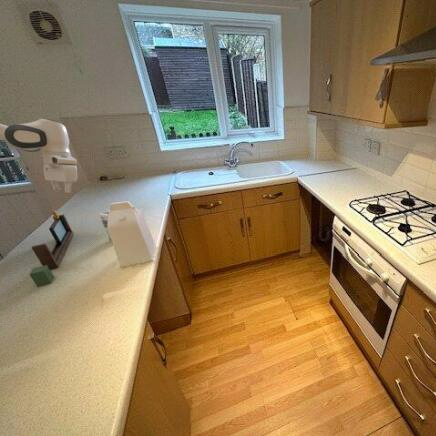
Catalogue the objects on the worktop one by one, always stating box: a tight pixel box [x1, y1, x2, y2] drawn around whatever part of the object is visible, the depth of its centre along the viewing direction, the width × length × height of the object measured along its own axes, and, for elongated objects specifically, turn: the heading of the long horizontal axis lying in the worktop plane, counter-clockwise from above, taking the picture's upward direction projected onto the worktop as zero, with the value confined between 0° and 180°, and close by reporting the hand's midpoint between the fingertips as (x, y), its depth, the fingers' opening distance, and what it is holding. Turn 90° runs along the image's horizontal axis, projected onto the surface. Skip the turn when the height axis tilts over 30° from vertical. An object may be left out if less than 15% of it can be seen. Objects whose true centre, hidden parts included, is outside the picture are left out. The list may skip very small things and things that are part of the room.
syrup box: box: [99, 209, 112, 242], centre depth 116 cm, size 6×6×14 cm
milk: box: [107, 200, 157, 268], centre depth 100 cm, size 12×12×26 cm
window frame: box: [31, 213, 75, 271], centre depth 108 cm, size 31×4×12 cm, turn 30°
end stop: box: [28, 265, 55, 287], centre depth 91 cm, size 4×4×6 cm
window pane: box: [48, 209, 67, 246], centre depth 112 cm, size 13×1×13 cm, turn 30°
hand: (62, 191), depth 105 cm, fingers open, 8 cm apart
